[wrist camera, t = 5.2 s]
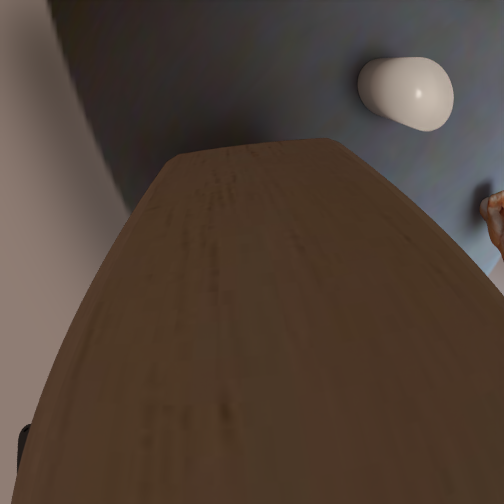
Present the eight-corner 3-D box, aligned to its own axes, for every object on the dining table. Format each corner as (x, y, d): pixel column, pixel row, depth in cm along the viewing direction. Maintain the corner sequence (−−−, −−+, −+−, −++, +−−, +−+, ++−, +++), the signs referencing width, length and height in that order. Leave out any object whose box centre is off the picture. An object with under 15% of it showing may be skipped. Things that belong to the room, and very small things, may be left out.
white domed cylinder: (355, 55, 22) (391, 52, 17) (410, 61, 22) (453, 64, 17) (358, 116, 26) (393, 129, 20) (410, 118, 26) (452, 133, 20)
